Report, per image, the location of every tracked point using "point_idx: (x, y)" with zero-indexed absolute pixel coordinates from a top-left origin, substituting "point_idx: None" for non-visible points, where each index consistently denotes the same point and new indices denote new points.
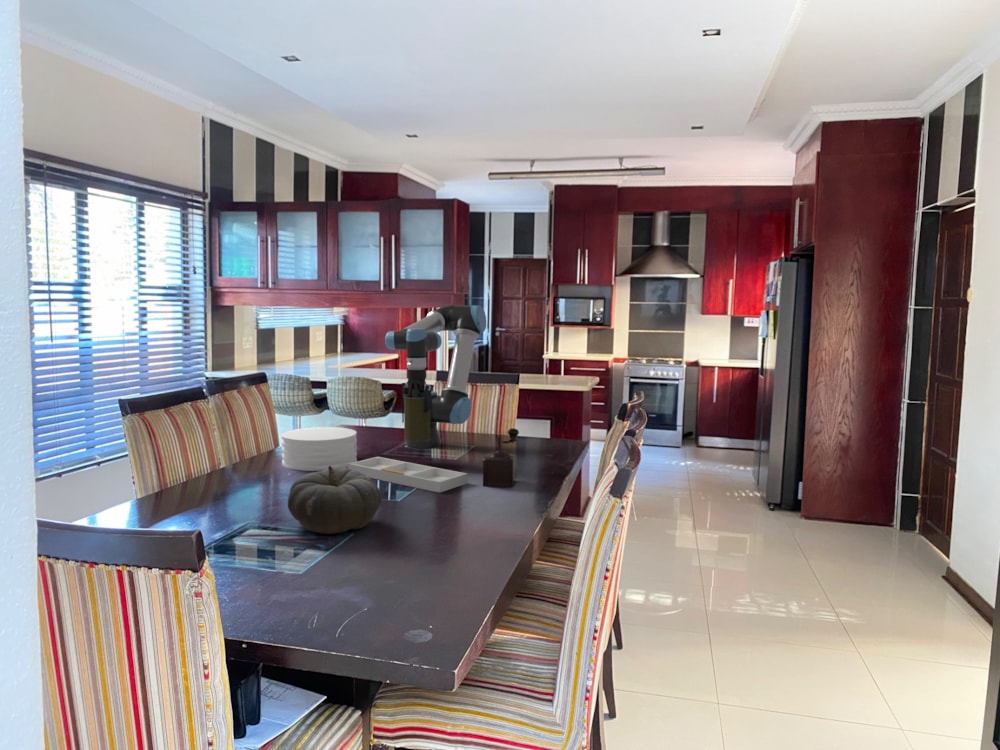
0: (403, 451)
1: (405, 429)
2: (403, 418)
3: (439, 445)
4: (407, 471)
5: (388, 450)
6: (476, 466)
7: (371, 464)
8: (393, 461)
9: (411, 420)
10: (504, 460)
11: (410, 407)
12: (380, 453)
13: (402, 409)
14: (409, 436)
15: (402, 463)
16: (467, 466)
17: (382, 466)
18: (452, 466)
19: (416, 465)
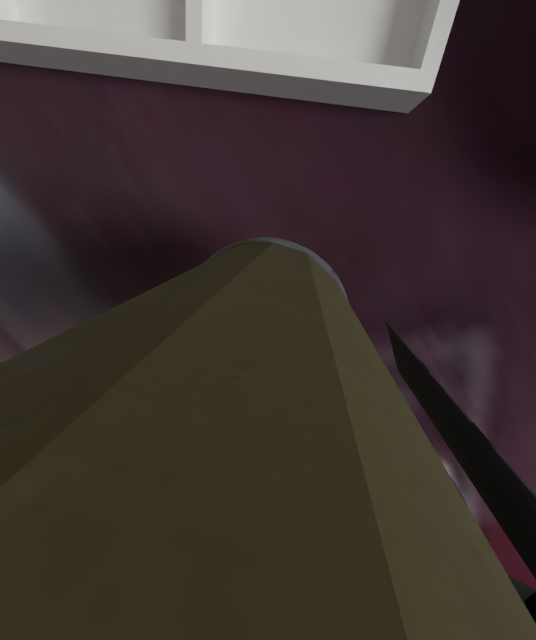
0: (418, 406)
1: (318, 272)
2: (414, 389)
3: None
4: (158, 19)
5: (487, 398)
6: (66, 323)
7: (424, 15)
8: (281, 55)
9: (205, 273)
10: None
11: (44, 391)
12: (502, 344)
13: (503, 470)
14: (266, 245)
15: (186, 8)
16: (86, 310)
17: (346, 43)
18: (123, 285)
19: (101, 34)
